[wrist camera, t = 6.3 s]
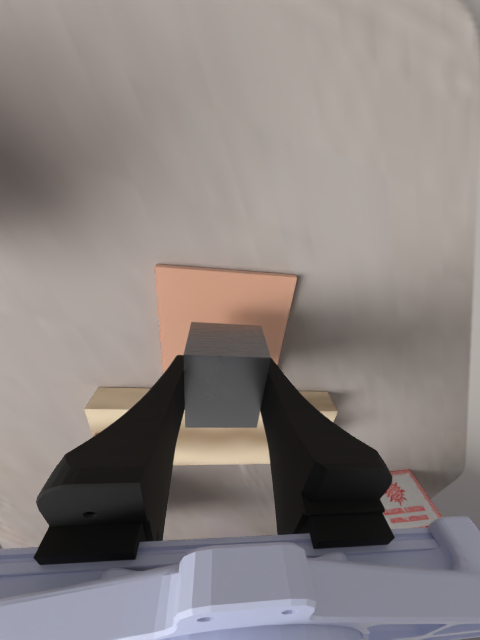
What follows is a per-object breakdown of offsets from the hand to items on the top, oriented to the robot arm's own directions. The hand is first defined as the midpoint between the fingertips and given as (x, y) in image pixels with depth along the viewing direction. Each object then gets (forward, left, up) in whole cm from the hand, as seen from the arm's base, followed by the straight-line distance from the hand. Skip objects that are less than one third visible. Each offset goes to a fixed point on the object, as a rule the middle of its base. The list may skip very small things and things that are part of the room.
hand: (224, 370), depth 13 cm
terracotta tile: (0, 0, -5) cm, 5 cm away
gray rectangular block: (0, 0, -1) cm, 1 cm away
